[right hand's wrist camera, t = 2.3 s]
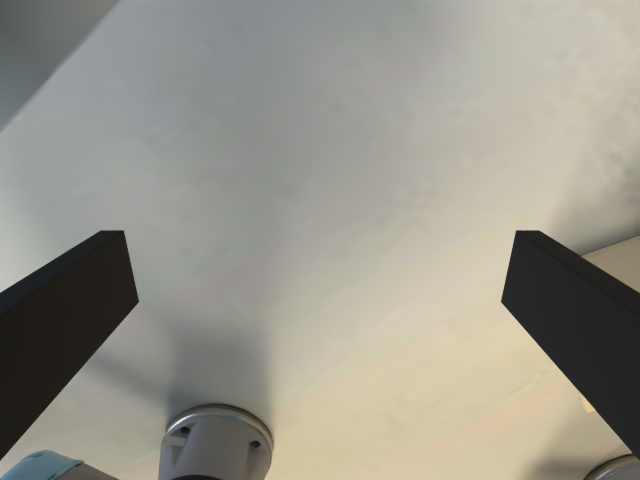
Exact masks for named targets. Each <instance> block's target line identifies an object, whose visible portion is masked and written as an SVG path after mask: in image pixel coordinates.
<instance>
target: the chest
mask: <svg viewBox="0 0 640 480" xmlns="http://www.w3.org/2000/svg"><path fill="white" fill-rule="evenodd" d="M581 257H583V258H584V259H586V260H587V261H589V262H591V263H592V264H594V265H596V266H597V267H599V268H600V269H602V270H604V271H605V272H607V273H608V274H610V275H612V276H613V277H615V278H617V279H618V280H620V281H621V282H623V283H625V284H626V285H628V286H629V287H631V288H633V289H634V290H636V291H638V292H639V293H640V235H639V236H636V237H633V238H630V239H627V240H625V241H622V242H619V243H616V244H613V245H610V246H607V247H605V248H602V249H599V250H596V251H593V252H590V253H588V254H585V255H582V256H581Z"/></svg>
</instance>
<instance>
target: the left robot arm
mask: <svg viewBox="0 0 640 480" xmlns="http://www.w3.org/2000/svg"><path fill="white" fill-rule="evenodd" d="M586 480H640V460H639V459H638V458H637V457H636V456H635V455H631V456H626V457H622V458H619V459H616V460H613V461H611V462H609V463H607V464H605V465H603V466H601V467H600V468H598V469H597V470H595V471H594V472H593V473H591V474H590V475H589V476H588V477H587V478H586Z"/></svg>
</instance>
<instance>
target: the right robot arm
mask: <svg viewBox="0 0 640 480" xmlns="http://www.w3.org/2000/svg"><path fill="white" fill-rule="evenodd" d="M138 302H139V300H138V295H137V290H136V286H135V281H134V276H133V271H132V267H131V262H130V257H129V253H128V248H127V243H126V239H125V234H124V231H99V232H98V233H96V234H94V235H93V236H91V237H90V238H88V239H86V240H85V241H83V242H82V243H80V244H78V245H77V246H75V247H73V248H72V249H70V250H69V251H67V252H65V253H64V254H62V255H61V256H59V257H57V258H56V259H54V260H53V261H51V262H49V263H48V264H46V265H44V266H43V267H41V268H40V269H38V270H36V271H35V272H33V273H32V274H30V275H28V276H27V277H25V278H23V279H22V280H20V281H19V282H17V283H15V284H14V285H12V286H11V287H9V288H7V289H6V290H4V291H2V292H1V293H0V460H1V459H2V458H3V457H4V456H5V455H6V454H7V452H8V451H9V450H10V449H11V448H12V447H13V445H14V444H15V443H16V442H17V441H18V440H19V439H20V437H21V436H22V435H23V434H24V433H25V432H26V431H27V429H28V428H29V427H30V426H31V425H32V424H33V423H34V421H35V420H36V419H37V418H38V417H39V416H40V415H41V413H42V412H43V411H44V410H45V409H46V408H47V407H48V405H49V404H50V403H51V402H52V401H53V400H54V399H55V397H56V396H57V395H58V394H59V393H60V392H61V391H62V389H63V388H64V387H65V386H66V385H67V384H68V383H69V381H70V380H71V379H72V378H73V377H74V376H75V375H76V373H77V372H78V371H79V370H80V369H81V368H82V367H83V365H84V364H85V363H86V362H87V361H88V360H89V359H90V357H91V356H92V355H93V354H94V353H95V352H96V351H97V349H98V348H99V347H100V346H101V345H102V344H103V343H104V341H105V340H106V339H107V338H108V337H109V336H110V334H111V333H112V332H113V331H114V330H115V329H116V328H117V326H118V325H119V324H120V323H121V322H122V321H123V320H124V318H125V317H126V316H127V315H128V314H129V313H130V312H131V310H132V309H133V308H134V307H135V306H136V305H137V304H138ZM501 302H502V304H503V305H504V306H505V307H506V308H507V309H508V310H509V312H510V313H511V314H512V315H513V316H514V317H515V318H516V320H517V321H518V322H519V323H520V324H521V325H522V326H523V328H524V329H525V330H526V331H527V332H528V333H529V334H530V336H531V337H532V338H533V339H534V340H535V341H536V343H537V344H538V345H539V346H540V347H541V348H542V349H543V351H544V352H545V353H546V354H547V355H548V356H549V357H550V359H551V360H552V361H553V362H554V363H555V364H556V365H557V367H558V368H559V369H560V370H561V371H562V372H563V373H564V375H565V376H566V377H567V378H568V379H569V380H570V381H571V383H572V384H573V385H574V386H575V387H576V388H577V389H578V391H579V392H580V393H581V394H582V395H583V396H584V397H585V399H586V400H587V401H588V402H589V403H590V404H591V405H592V407H593V408H594V409H595V410H596V411H597V412H598V413H599V415H600V416H601V417H602V418H603V419H604V420H605V421H606V423H607V424H608V425H609V426H610V427H611V428H612V429H613V431H614V432H615V433H616V434H617V435H618V436H619V437H620V439H621V440H622V441H623V442H624V443H625V444H626V445H627V447H628V448H629V449H630V450H631V451H632V452H633V454H634V455H635V456H636V457H637V458H638V459H639V460H640V293H639V292H638V291H636V290H634V289H633V288H631V287H629V286H628V285H626V284H625V283H623V282H621V281H620V280H618V279H617V278H615V277H613V276H612V275H610V274H608V273H607V272H605V271H604V270H602V269H600V268H599V267H597V266H596V265H594V264H592V263H591V262H589V261H587V260H586V259H584V258H583V257H581V256H579V255H578V254H576V253H575V252H573V251H571V250H570V249H568V248H567V247H565V246H563V245H562V244H560V243H558V242H557V241H555V240H554V239H552V238H550V237H549V236H547V235H546V234H544V233H542V232H541V231H516V234H515V239H514V243H513V248H512V253H511V257H510V262H509V267H508V271H507V276H506V281H505V285H504V290H503V295H502V300H501ZM272 452H273V443H272V438H271V436H270V433H269V432H268V430H267V429H266V427H265V426H264V425H263V424H262V423H261V422H260V421H259V420H258V419H257V418H255V417H254V416H252V415H250V414H249V413H247V412H245V411H242V410H240V409H237V408H234V407H229V406H224V405H204V406H199V407H195V408H192V409H189V410H187V411H185V412H183V413H181V414H180V415H179V416H177V417H176V418H175V419H174V420H173V421H172V423H171V424H170V426H169V427H168V430H167V432H166V434H165V436H164V438H163V441H162V445H161V454H160V465H159V475H158V480H264V479H265V477H266V474H267V472H268V470H269V468H270V465H271V460H272ZM0 480H119V479H117V478H114V477H112V476H110V475H108V474H106V473H104V472H102V471H99V470H97V469H95V468H93V467H91V466H89V465H87V464H85V463H84V461H83V460H74V459H71V458H68V457H66V456H63V455H60V454H58V453H55V452H53V451H48V450H44V451H38V452H35V453H32V454H30V455H28V456H27V457H25V458H24V459H22V460H21V461H20V462H18V463H17V464H16V465H15V466H13V467H12V468H11V469H10V470H9V471H8V472H7V473H6V474H4V475H3V476H2V477H1V478H0Z"/></svg>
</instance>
